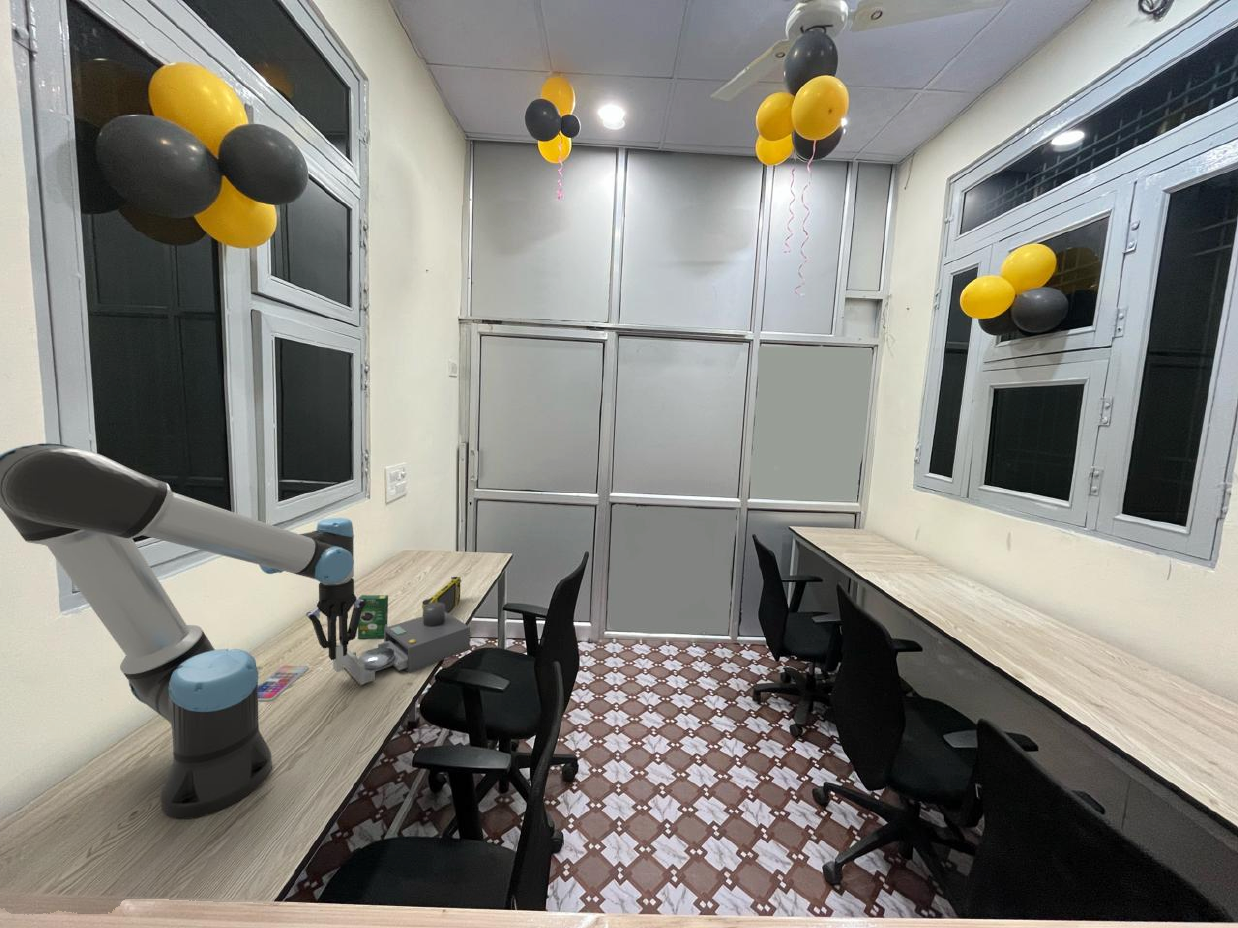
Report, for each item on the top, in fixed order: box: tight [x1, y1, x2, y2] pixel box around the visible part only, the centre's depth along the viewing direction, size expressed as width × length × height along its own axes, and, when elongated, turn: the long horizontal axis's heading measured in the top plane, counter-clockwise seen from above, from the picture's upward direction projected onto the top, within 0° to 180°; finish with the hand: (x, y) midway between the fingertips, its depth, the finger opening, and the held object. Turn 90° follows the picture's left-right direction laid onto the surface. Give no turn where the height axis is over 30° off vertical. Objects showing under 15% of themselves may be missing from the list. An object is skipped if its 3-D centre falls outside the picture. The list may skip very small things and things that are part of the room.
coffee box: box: [357, 594, 389, 640], centre depth 138 cm, size 8×3×13 cm, turn 99°
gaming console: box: [421, 576, 462, 614], centre depth 156 cm, size 26×4×10 cm, turn 178°
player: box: [383, 602, 471, 674], centre depth 132 cm, size 18×16×12 cm
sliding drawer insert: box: [343, 640, 408, 686], centre depth 123 cm, size 17×14×5 cm
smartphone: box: [258, 665, 310, 703], centre depth 114 cm, size 7×1×15 cm
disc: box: [358, 647, 394, 670], centre depth 122 cm, size 8×8×2 cm
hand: (338, 668), depth 115 cm, fingers closed
